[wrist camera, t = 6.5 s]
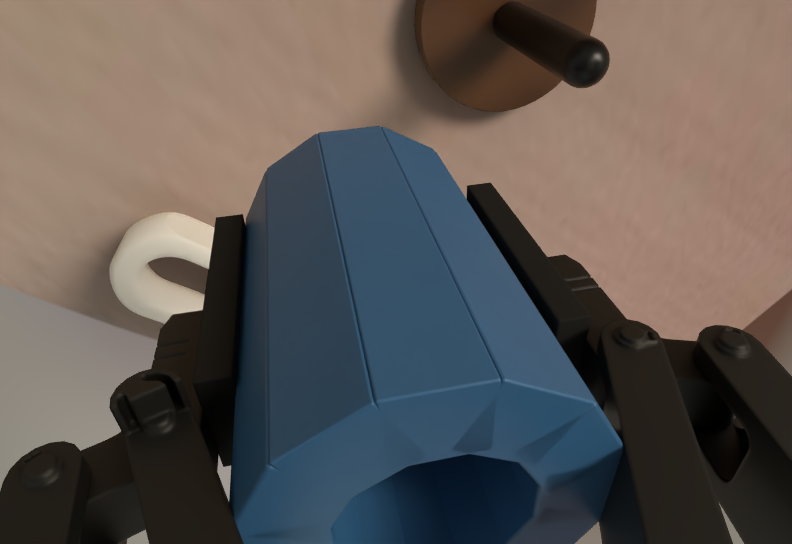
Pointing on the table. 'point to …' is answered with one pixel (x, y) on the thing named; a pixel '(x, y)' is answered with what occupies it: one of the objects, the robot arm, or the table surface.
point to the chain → (151, 242)
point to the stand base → (488, 50)
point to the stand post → (552, 44)
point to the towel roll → (399, 366)
